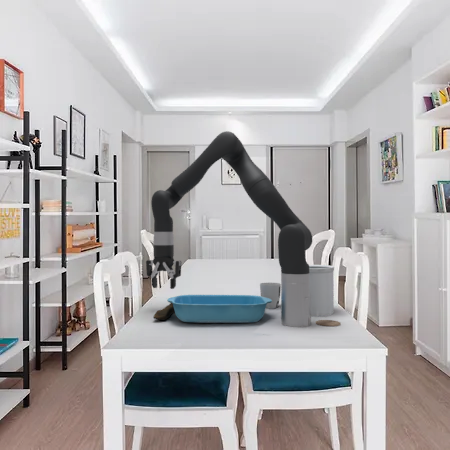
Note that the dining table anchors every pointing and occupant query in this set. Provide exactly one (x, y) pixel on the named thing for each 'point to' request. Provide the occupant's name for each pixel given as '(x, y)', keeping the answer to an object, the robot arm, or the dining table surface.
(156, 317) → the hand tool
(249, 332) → the dining table surface
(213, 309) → the casserole dish
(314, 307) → the utensil holder
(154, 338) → the dining table surface
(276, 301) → the cup
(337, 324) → the cork coaster
